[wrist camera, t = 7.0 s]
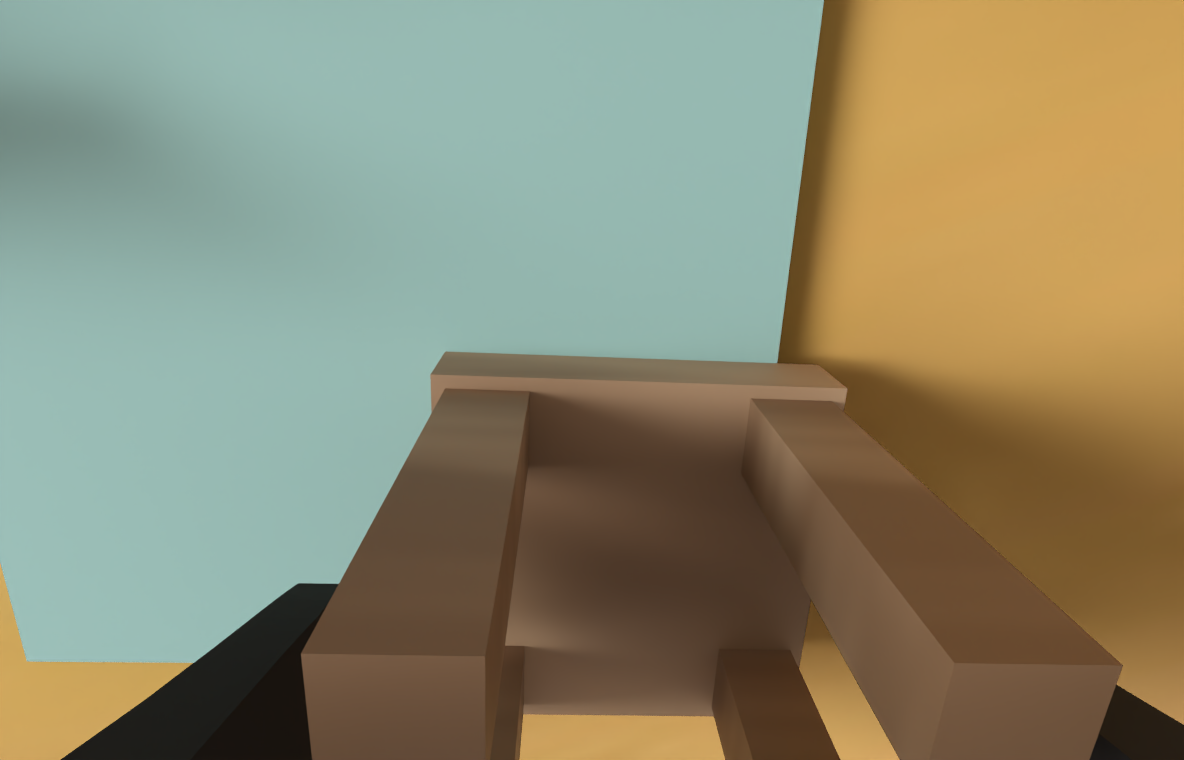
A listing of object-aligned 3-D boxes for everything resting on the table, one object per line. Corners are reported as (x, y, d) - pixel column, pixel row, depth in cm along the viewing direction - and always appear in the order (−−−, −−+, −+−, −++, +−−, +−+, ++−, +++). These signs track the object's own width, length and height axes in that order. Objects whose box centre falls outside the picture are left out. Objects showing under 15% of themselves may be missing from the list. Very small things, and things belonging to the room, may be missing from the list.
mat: (731, 645, 13) (738, 666, 13) (51, 638, 13) (26, 661, 12) (849, -321, 9) (869, -354, 8) (-212, -399, 8) (-271, -441, 7)
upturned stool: (770, 666, 13) (967, 1158, 6) (452, 662, 12) (333, 1171, 6) (818, 365, 11) (1158, 642, 5) (445, 351, 11) (267, 628, 4)
